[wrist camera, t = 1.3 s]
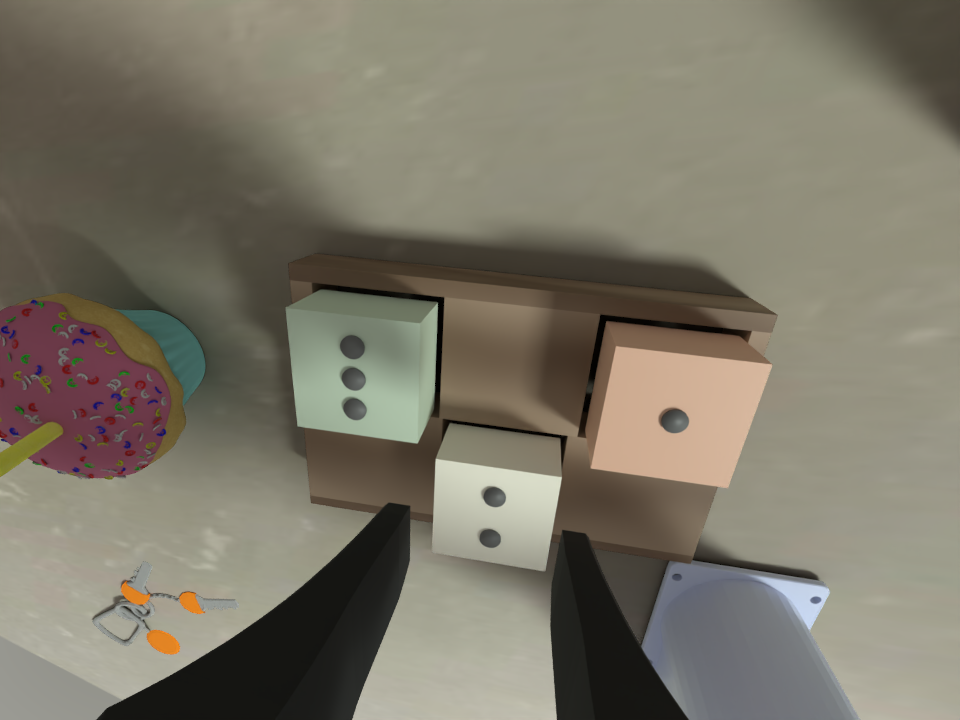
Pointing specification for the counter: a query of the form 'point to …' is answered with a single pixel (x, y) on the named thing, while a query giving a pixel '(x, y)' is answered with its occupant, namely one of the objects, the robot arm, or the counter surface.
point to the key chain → (140, 595)
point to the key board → (521, 395)
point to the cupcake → (92, 385)
